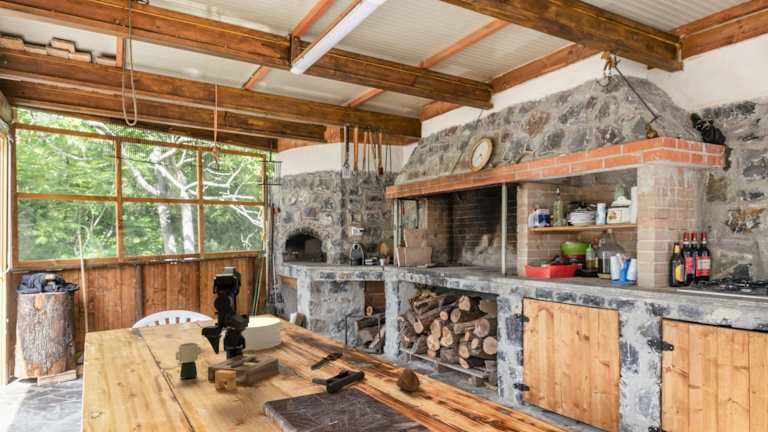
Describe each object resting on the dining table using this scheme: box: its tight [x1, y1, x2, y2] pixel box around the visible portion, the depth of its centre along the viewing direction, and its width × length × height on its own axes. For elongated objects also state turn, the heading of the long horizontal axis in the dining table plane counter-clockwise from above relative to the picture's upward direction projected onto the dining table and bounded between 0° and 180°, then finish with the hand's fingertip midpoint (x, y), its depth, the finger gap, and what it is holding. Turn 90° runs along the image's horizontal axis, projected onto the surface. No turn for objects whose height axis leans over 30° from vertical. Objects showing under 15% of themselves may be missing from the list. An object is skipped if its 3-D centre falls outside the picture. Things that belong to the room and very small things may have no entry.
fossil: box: [395, 368, 421, 392], centre depth 163 cm, size 13×8×10 cm
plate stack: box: [224, 316, 282, 352], centre depth 240 cm, size 28×28×12 cm
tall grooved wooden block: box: [214, 370, 237, 391], centre depth 170 cm, size 7×3×6 cm, turn 67°
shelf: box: [207, 353, 279, 385], centre depth 185 cm, size 20×18×7 cm
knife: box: [310, 351, 344, 371], centre depth 202 cm, size 26×7×2 cm, turn 154°
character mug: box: [175, 342, 202, 379], centre depth 185 cm, size 11×7×13 cm, turn 147°
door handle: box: [311, 369, 366, 393], centre depth 172 cm, size 3×20×16 cm
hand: (226, 351), depth 170 cm, fingers open, 9 cm apart
